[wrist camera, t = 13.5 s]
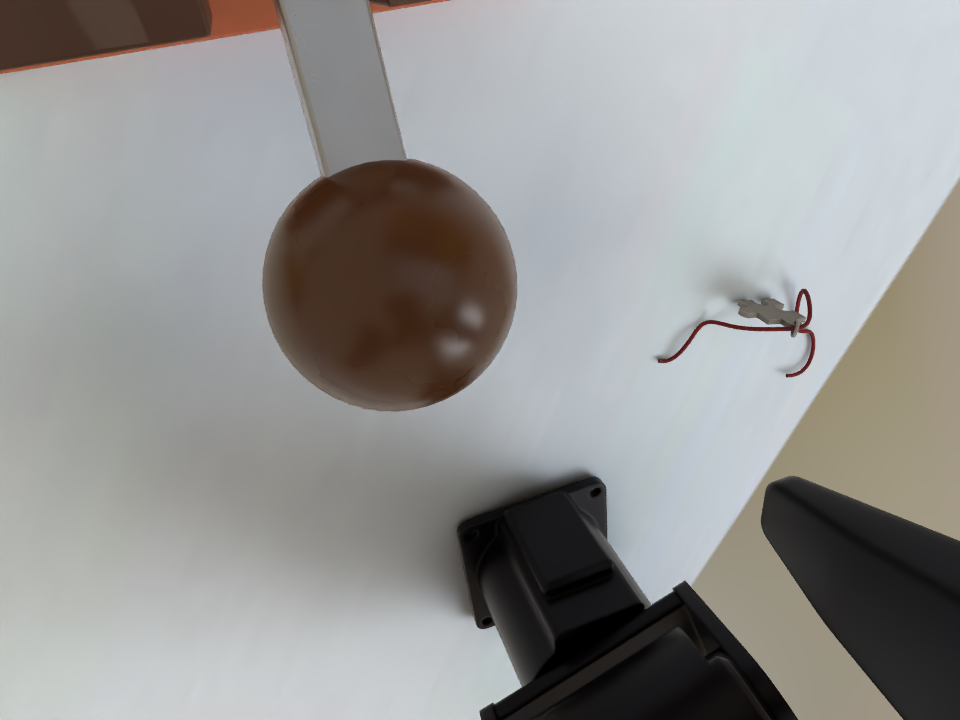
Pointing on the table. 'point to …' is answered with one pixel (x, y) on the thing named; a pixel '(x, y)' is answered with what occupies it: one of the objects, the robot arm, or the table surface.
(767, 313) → the pendant
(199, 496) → the table surface
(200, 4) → the brown block
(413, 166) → the lever
